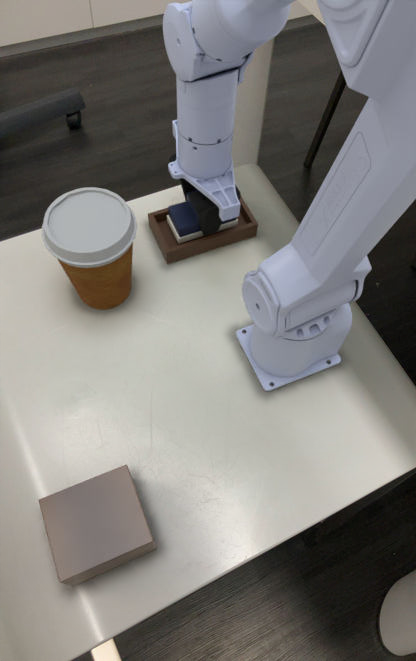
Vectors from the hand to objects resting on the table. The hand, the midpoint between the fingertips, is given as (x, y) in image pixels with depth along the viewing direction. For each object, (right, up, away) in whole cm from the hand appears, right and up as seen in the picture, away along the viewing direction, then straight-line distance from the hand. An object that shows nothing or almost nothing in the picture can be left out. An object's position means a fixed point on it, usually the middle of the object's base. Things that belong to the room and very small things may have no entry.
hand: (202, 217), depth 64 cm
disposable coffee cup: (-12, -9, -2) cm, 15 cm away
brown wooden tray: (0, -1, +2) cm, 2 cm away
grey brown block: (-9, -33, -16) cm, 37 cm away
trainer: (0, -1, +1) cm, 1 cm away
